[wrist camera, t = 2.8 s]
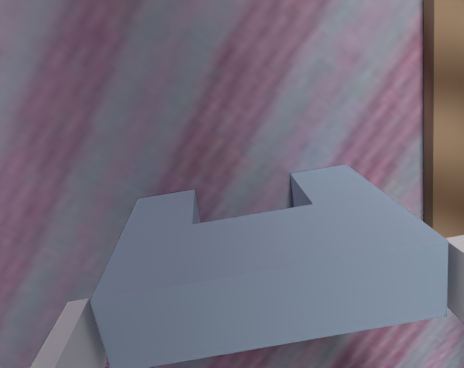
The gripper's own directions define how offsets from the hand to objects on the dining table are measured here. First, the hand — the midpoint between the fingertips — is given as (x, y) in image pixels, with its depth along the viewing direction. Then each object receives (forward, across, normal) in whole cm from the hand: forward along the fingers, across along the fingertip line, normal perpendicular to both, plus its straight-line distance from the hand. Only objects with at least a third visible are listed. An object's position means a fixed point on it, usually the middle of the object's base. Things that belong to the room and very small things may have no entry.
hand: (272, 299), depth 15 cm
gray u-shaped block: (+9, 0, 0) cm, 9 cm away
